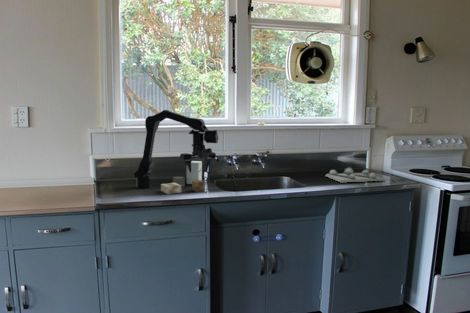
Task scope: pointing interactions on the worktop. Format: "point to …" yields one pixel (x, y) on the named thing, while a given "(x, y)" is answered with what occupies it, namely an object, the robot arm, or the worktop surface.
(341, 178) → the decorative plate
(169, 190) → the birch block
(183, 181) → the gray cube
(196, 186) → the walnut cube
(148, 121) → the robot arm
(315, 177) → the worktop surface
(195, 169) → the supplement box
